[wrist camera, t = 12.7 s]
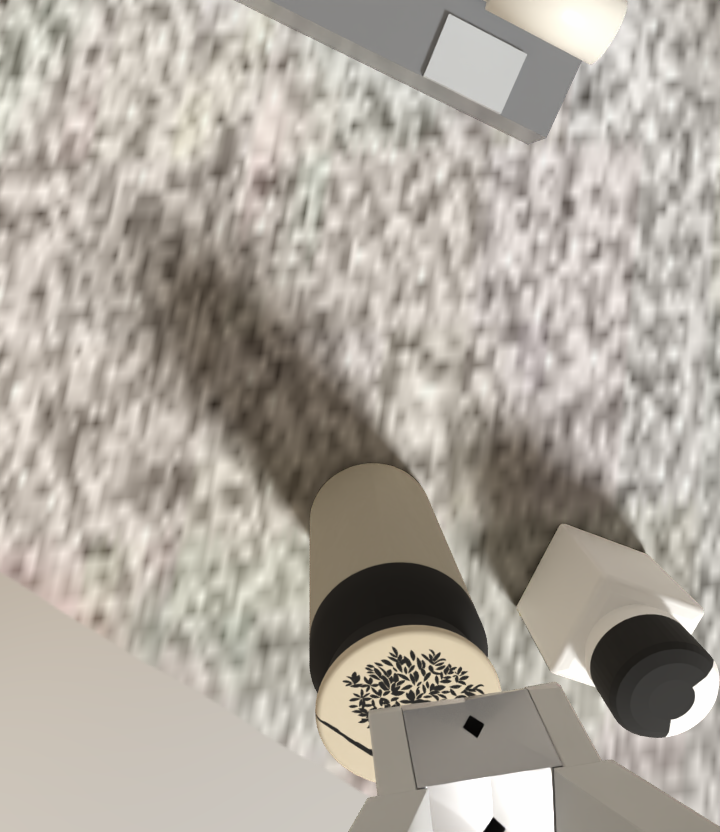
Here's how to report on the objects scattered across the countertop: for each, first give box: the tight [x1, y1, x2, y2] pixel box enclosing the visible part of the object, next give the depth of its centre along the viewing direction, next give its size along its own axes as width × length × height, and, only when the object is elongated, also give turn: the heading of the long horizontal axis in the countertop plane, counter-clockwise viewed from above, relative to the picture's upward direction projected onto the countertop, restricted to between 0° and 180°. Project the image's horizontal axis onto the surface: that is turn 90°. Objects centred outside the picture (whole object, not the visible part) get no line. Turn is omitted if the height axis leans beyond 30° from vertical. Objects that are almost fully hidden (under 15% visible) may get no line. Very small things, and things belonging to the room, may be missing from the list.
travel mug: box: [310, 463, 501, 782], centre depth 35 cm, size 8×8×18 cm
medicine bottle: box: [517, 524, 719, 738], centre depth 40 cm, size 7×7×12 cm
